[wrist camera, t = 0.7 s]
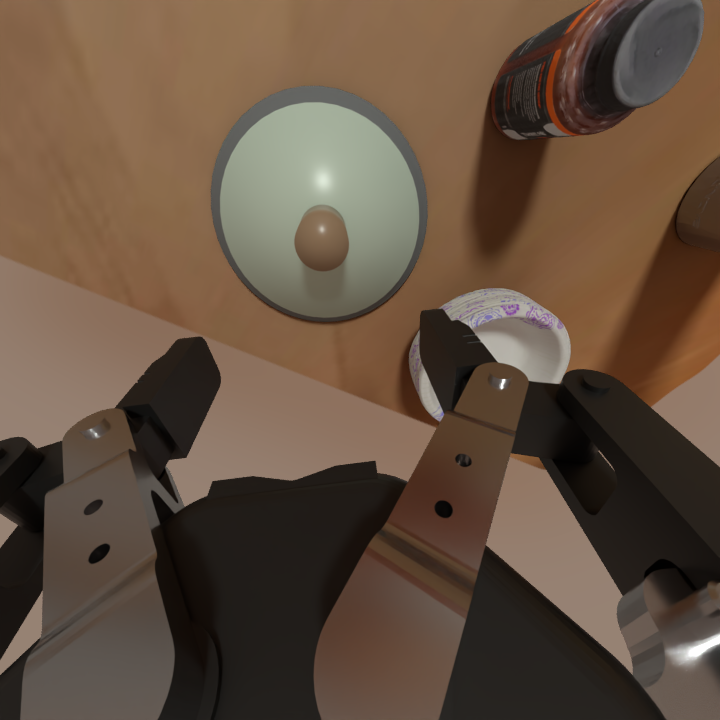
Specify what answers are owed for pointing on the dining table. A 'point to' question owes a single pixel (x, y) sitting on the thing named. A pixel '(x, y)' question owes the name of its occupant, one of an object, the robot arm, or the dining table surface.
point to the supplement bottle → (595, 67)
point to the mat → (329, 97)
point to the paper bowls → (503, 338)
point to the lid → (319, 209)
